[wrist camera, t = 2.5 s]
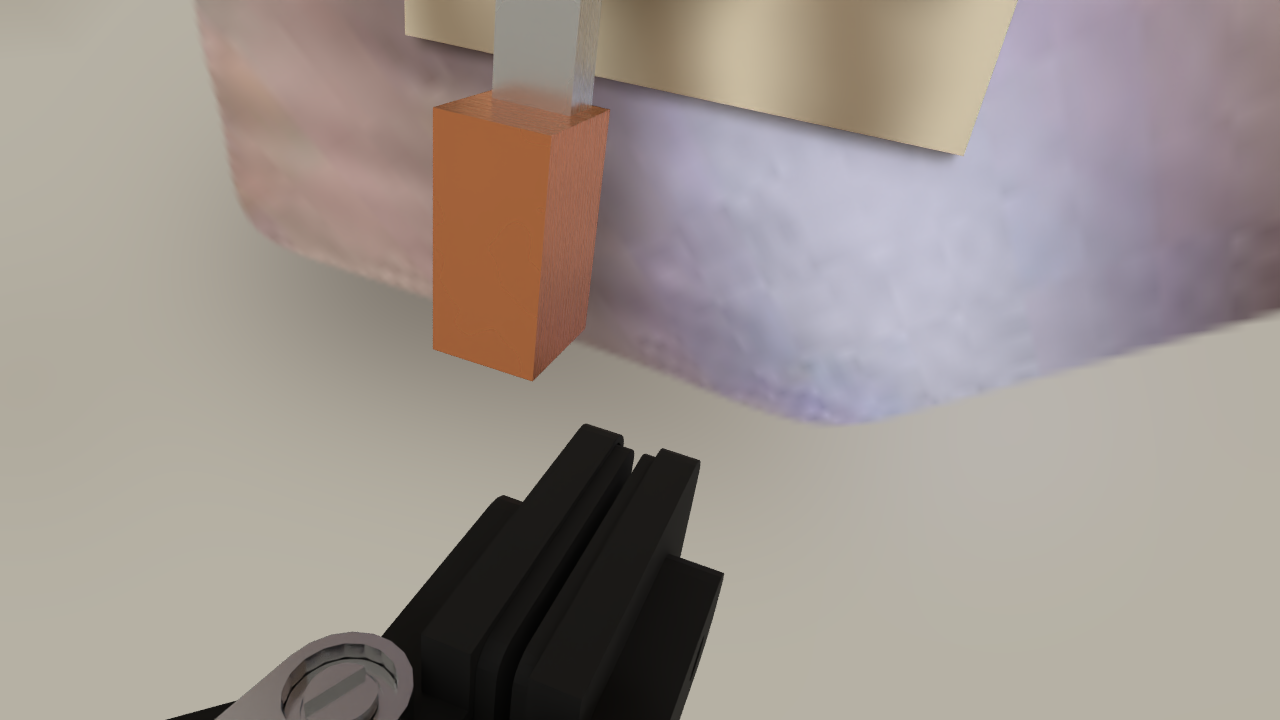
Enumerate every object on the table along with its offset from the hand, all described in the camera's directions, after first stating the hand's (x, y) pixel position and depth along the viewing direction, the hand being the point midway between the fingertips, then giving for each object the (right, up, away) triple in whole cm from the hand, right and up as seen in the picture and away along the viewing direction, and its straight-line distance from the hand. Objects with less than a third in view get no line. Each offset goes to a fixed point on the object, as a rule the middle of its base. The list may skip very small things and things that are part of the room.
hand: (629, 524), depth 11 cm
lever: (-2, +10, +7) cm, 12 cm away
